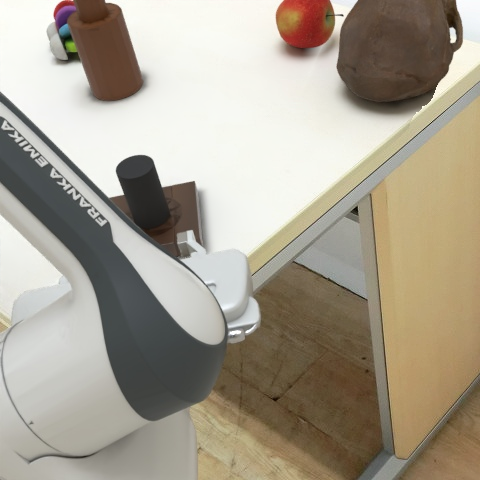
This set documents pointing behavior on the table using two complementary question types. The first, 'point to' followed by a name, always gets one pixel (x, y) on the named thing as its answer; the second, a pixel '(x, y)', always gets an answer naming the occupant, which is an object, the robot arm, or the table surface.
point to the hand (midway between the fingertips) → (136, 246)
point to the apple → (305, 22)
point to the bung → (143, 191)
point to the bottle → (105, 49)
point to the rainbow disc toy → (61, 30)
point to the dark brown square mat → (173, 215)
